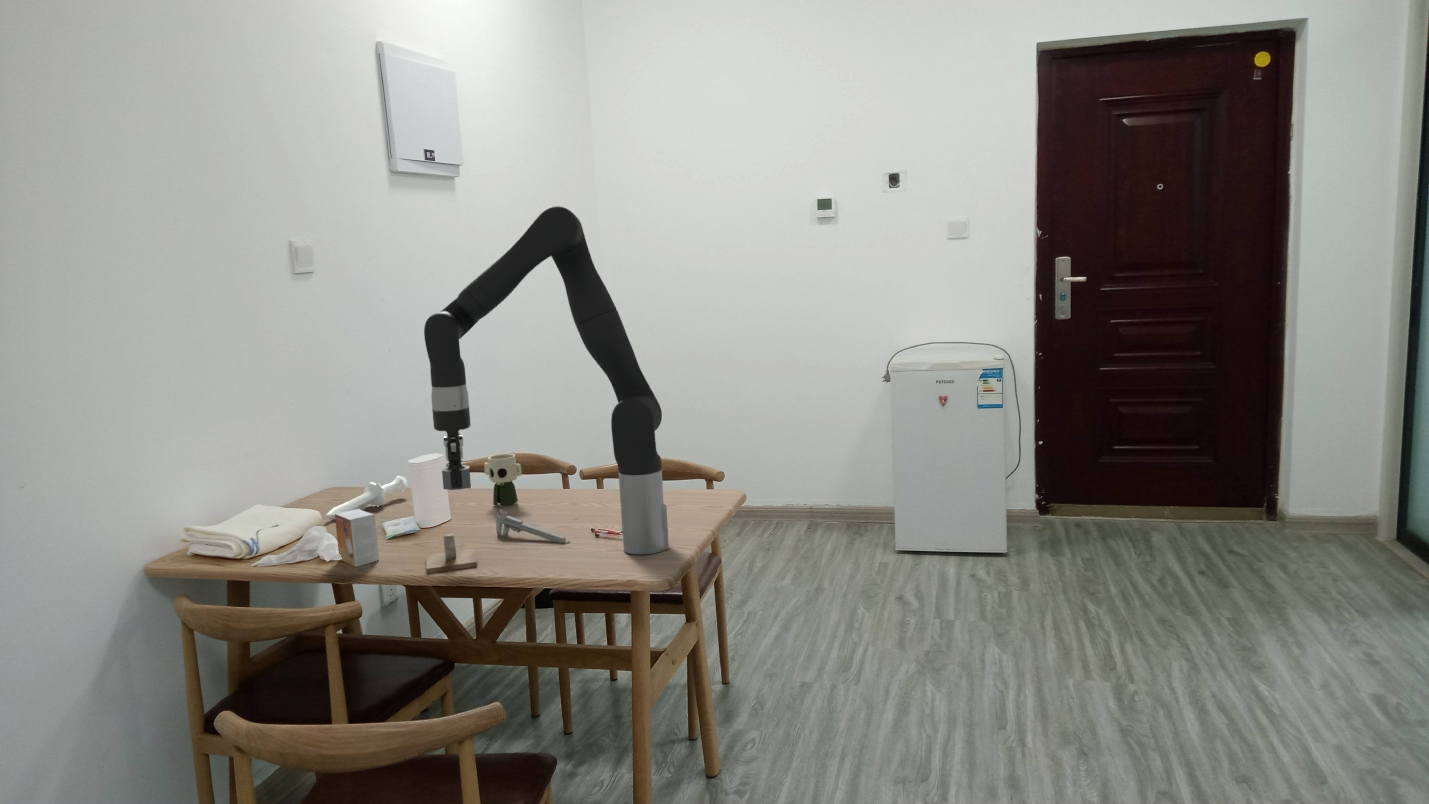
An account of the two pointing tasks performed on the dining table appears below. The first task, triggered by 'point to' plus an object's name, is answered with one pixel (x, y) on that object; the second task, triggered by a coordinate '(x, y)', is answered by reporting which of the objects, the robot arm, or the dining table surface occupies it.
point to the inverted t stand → (450, 557)
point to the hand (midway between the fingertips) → (456, 484)
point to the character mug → (503, 477)
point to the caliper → (524, 528)
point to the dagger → (371, 496)
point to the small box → (357, 537)
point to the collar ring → (465, 478)
